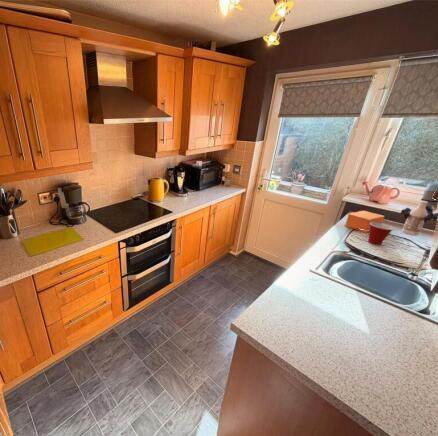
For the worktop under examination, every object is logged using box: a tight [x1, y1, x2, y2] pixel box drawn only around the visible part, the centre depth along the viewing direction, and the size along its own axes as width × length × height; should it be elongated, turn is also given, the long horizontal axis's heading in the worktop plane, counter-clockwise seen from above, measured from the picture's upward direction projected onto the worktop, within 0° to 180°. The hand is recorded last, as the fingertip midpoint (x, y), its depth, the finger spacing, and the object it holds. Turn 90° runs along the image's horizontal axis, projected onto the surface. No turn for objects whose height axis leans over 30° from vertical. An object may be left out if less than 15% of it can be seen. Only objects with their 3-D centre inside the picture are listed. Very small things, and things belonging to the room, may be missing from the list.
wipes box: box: [344, 215, 385, 233], centre depth 163 cm, size 17×13×9 cm
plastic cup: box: [368, 223, 394, 246], centre depth 140 cm, size 11×11×12 cm
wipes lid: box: [347, 210, 386, 221], centre depth 161 cm, size 17×13×1 cm
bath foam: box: [401, 200, 428, 237], centre depth 133 cm, size 7×7×20 cm
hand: (415, 218), depth 130 cm, fingers closed on bath foam, 7 cm apart
